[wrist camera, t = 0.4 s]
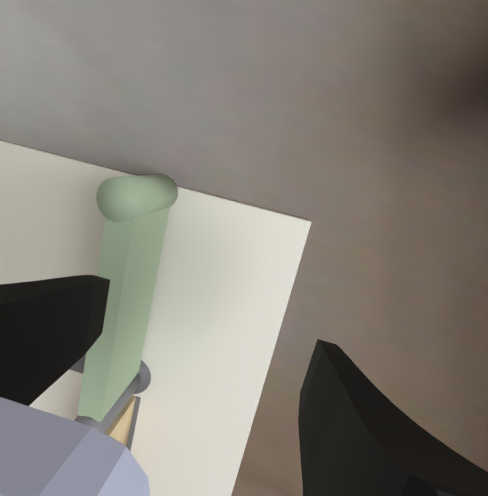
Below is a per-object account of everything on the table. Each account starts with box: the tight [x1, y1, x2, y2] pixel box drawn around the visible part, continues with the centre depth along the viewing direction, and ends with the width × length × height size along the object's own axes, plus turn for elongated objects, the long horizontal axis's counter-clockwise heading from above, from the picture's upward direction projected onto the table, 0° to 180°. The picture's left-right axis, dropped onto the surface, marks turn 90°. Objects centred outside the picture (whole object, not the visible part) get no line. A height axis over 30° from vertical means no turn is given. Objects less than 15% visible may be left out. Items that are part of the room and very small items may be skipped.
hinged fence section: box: [74, 175, 178, 433], centre depth 18 cm, size 13×2×5 cm, turn 167°
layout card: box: [0, 140, 311, 496], centre depth 22 cm, size 22×20×1 cm
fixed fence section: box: [105, 395, 136, 446], centre depth 21 cm, size 8×2×5 cm, turn 166°
